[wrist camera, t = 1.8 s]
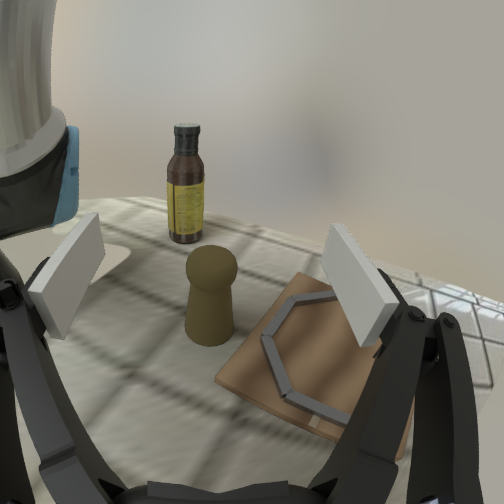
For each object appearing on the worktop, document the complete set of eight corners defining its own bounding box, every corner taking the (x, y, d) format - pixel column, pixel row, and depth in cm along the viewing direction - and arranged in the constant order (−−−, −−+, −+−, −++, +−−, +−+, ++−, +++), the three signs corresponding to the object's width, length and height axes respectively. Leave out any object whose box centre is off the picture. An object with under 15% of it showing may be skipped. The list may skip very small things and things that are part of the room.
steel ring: (232, 374, 26) (233, 369, 25) (302, 279, 41) (304, 274, 40) (395, 445, 19) (400, 442, 19) (415, 328, 34) (418, 324, 33)
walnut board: (214, 381, 26) (215, 375, 25) (296, 277, 43) (298, 270, 42) (395, 461, 19) (402, 458, 18) (418, 331, 35) (423, 325, 34)
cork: (243, 324, 33) (255, 252, 27) (213, 355, 29) (217, 283, 23) (205, 302, 36) (208, 230, 30) (174, 328, 31) (168, 254, 25)
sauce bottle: (209, 234, 50) (218, 125, 39) (188, 249, 45) (192, 129, 34) (182, 223, 52) (186, 120, 41) (160, 236, 47) (160, 125, 36)
